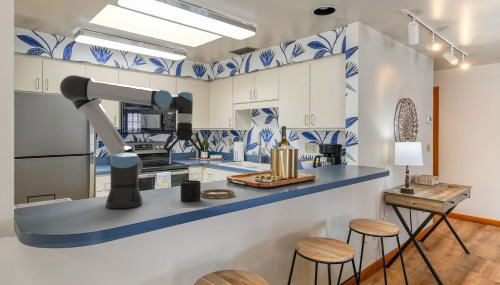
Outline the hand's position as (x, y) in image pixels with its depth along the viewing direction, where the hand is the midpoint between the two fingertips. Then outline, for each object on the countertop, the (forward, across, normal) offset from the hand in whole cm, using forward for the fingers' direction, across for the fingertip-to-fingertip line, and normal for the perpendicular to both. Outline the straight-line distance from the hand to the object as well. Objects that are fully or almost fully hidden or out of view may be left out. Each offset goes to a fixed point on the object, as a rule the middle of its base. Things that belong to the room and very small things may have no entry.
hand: (183, 164), depth 158 cm
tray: (+16, +17, -3) cm, 24 cm away
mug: (+17, +3, -13) cm, 21 cm away
